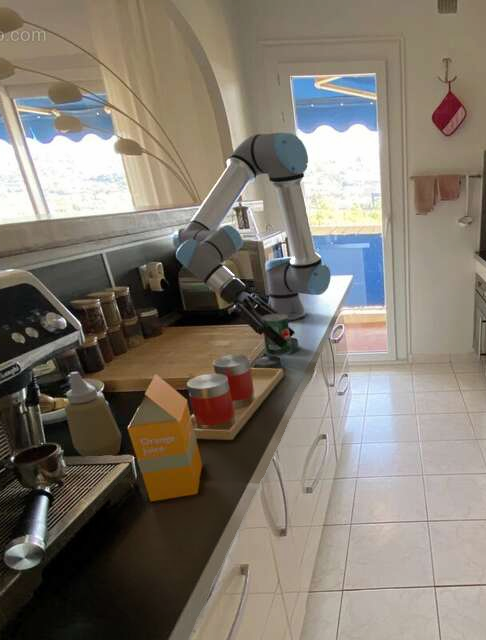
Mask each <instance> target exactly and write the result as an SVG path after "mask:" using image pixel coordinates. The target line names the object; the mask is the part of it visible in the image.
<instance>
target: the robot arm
mask: <svg viewBox="0 0 486 640" xmlns="http://www.w3.org/2000/svg"><path fill="white" fill-rule="evenodd" d="M308 164H309V154H308V151H307V149H306V146H305V144H304V143H303V141H302V140H301V139H300V138H299V137H298V136H297V135H296V134H294V133H291V132H273V133H256V134H253V135H250V136H249V137H247V138H246V139H244V140H243V141H241V143H239V145H238V146H237V147H236V148H235V150H234V151H233V152H232V153H231V155H230V156H229V157H228V159H227V160H226V166H227V167H226V168H225V170H224V171H223V173H222V174H221V175H220V176H219V179H218V180H217V182H216V183H215V184H214V186H213V188H212V189H211V190H210V191H209V193H208V195H207V197H205V198H204V201H203V202H202V203H201V205H200V207H199V208H198V210H197V211H196V212H195V214H194V215H193V217H192V219H191V220H190V222H189V223H188V224H187V225H186V227H182V228H178V229H176V230H175V231H174V232H173V234H172V245H173V246H174V248H175V249H176V252H175V258H176V259H177V261H179V263H180V264H181V265H182V266H183V267H185V269H187V270H188V271H189V272H191V273H192V275H194V276H195V277H196V278H197V279H199V280H200V281H201V282H202V283H203V284H204V285H206V286H207V288H209V290H210V291H212V292H213V293H215V294H216V295H219V297H220V299H221V300H223V301H224V302H225V303H226V304H227V305H232V304H234V306H233V307H232V309H231V311H233V312H234V313H235V314H237V315H238V316H239V317H240V318H241V319H242V320H243V321H244V322H245V323H246V324H247V325H248V326H249V327H250V328H251V329H252V330H253V331H254V332H255V333H256V334H258V335H259V336H263V333H264V334H265V335H266V336H267V337H269V338H270V339H271V340H272V341H273V342H274V343H275V344H277V345H278V346H279V347H280V348H281V347H282V346H283V345H284V344H285V343H286V342H287V341H286V340H285V339H284V338H283V337H282V336H280V335H279V334H278V333H277V332H276V331H275V330H274V329H272V328H271V327H270V326H269V327H268V326H267V325H266V324H265V322H264V321H263V320H262V319H261V317H262V316H264V315H268V314H286V315H287V316H288V322H289V321H295V320H300V319H302V318H304V317H305V316H306V311H305V308H304V305H303V302H302V301H301V298H300V294H305V295H310V296H315V295H316V296H320V295H323V294H324V293H326V291H327V290H328V288H329V286H330V283H331V279H332V278H331V276H332V275H331V269H330V268H329V266H328V265H327V264H325V263H323V262H322V257H321V255H320V254H318V253H317V252H316V247H315V243H314V238H313V234H312V228H311V223H310V220H309V214H308V209H307V205H306V200H305V195H304V190H303V187H302V186H303V185H302V182H303V181H304V179H305V172H306V171H307V170H308V169H307V168H308ZM261 175H268V179H269V182H270V183H271V185H273V186H274V187H275V188H276V192H277V198H278V202H279V205H280V210H281V214H282V218H283V223H284V226H285V230H286V235H287V239H288V243H289V247H290V252H291V256H285V257H277V258H272V259H268V260H266V261H265V263H264V268H265V270H264V272H265V279H266V284H267V291H268V298H269V299H268V303H267V302H266V301H265V300H263V299H262V298H260V296H258V295H257V294H256V292H252V293H251V294H250V293H248V292H247V291H246V289H247V285H246V284H245V283H244V282H242V281H241V280H240V279H239V278H237V277H236V274H234V273H232V272H231V271H230V270H229V268H227V267H226V266H225V265H224V264H223V263H224V262H225V261H226V260H228V259H229V258H230V257H232V256H233V255H234V254H236V253H237V252H238V251H240V249H241V248H242V247H243V245H244V241H243V237H242V236H241V235H242V234H241V233H240V231H238V230H237V228H235V227H234V226H232V225H228V224H227V225H226V224H225V225H223V226H222V224H223V222H224V221H225V220H226V218H227V217H228V215H229V213H230V212H231V210H232V209H233V207H234V205H236V203H237V201H238V200H239V198H240V196H241V195H242V194H243V192H244V190H245V189H246V187H247V186H248V185H249V184H252V183H254V181H255V180H256V179H257V178H258V177H259V176H261ZM221 226H222V227H221ZM289 333H290V337H291V338H292V336H294V335H295V333H296V331H295V330H294V329H292V328H291V327H290V326H289Z"/></svg>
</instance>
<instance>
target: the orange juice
mask: <svg viewBox="0 0 486 640" xmlns="http://www.w3.org/2000/svg"><path fill="white" fill-rule="evenodd" d="M190 412H191V411H190V408H189V404H188V399H187V398H185V397H184V396H183V395H182V394H181V393H180V392H178V391H177V390H176V389H175V388H174V387H173V386H171V385H170V384H169V383H167V381H165V380H164V379H163V378H162V377H160V376H159V375H158V373H155V374H154V376H153V378H152V380H151V382H150V384H149V385H148V387H147V389H146V391H145V393H144V397H143V399H142V401H141V403H140V404H139V406H138V408H137V409H136V412H135V413H134V415H133V417H132V418H131V421H130V422H129V425H128V426H127V432H128V434H129V438H130V441H131V443H132V444H131V445H132V448H133V449H134V454H135V457H136V459H137V460H136V461H137V464H138V467H139V470H140V473H141V475H142V479H143V481H144V485H145V488H146V491H147V495H148V498H149V501H150V502H156V501H163V500H168V499H169V500H170V499H175V498H180V497H186V496H193V495H197V494H198V493H199V488H200V483H201V480H200V478H201V474H202V470H203V469H202V468H203V463H202V458H201V454H200V449H199V446H198V442H197V438H196V436H195V432H194V428H193V424H192V420H191V416H192V415H191V413H190Z"/></svg>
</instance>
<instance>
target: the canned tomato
mask: <svg viewBox="0 0 486 640" xmlns="http://www.w3.org/2000/svg"><path fill="white" fill-rule="evenodd" d="M260 317H261V319H262V320H263V321H264V322H265V324H266V325H267V326H268V327H269V326H270V327H271V328H272V329H274V330H275V331H276V332H277V333H278V334H279V335H280V336H282V337H283V338H284V339H285V340H286V341H287V342H286V343H285V344H284V345H283V346H282V347H281V348H280V347H279V346H278V345H277V344H275V343H274V342H273V341H272V340H271V339H270V338H269V337H267V336H266V335H265V334H264V333H262V336H263V337H262V338H263V344H264V350H265V354H266V355H268V356H275V357H278V356H286V355H288V354H291V353H292V352H291V351H292V349H291V341H290V333H289V327H290V326H289V321H288V316H287V315H286V314H268V315H264V316H262V315H261V316H260ZM290 352H291V353H290Z"/></svg>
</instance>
